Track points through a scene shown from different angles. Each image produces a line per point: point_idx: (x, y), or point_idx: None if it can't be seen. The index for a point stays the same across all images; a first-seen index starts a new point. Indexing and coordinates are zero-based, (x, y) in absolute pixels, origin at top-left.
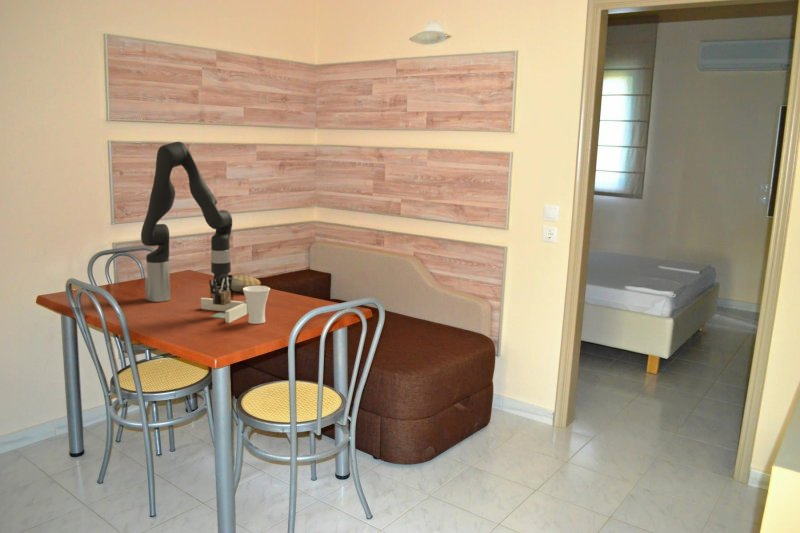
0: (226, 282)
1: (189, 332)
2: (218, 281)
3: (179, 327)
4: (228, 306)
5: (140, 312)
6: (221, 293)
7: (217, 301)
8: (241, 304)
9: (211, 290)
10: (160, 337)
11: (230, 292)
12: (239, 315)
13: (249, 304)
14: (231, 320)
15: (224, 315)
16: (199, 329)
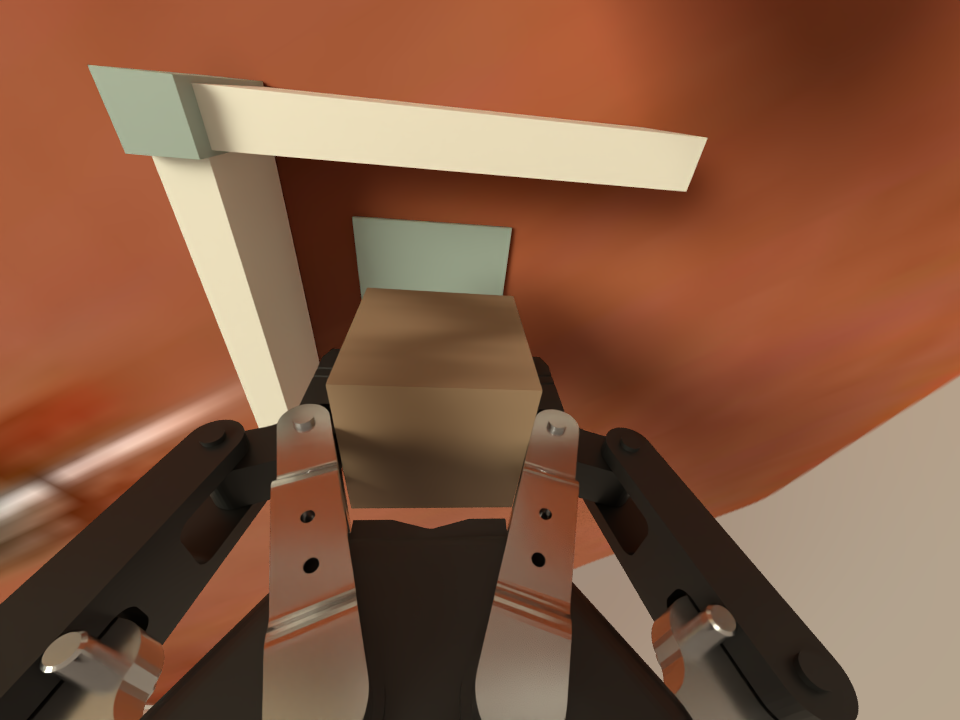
0: (352, 570)
1: (874, 298)
2: (644, 664)
3: (741, 391)
4: (289, 327)
5: None
6: (533, 415)
7: (548, 375)
8: (303, 142)
9: (647, 524)
10: (925, 382)
11: (336, 363)
12: (438, 106)
13: None
14: (601, 123)
15: (432, 278)
16: (814, 273)
